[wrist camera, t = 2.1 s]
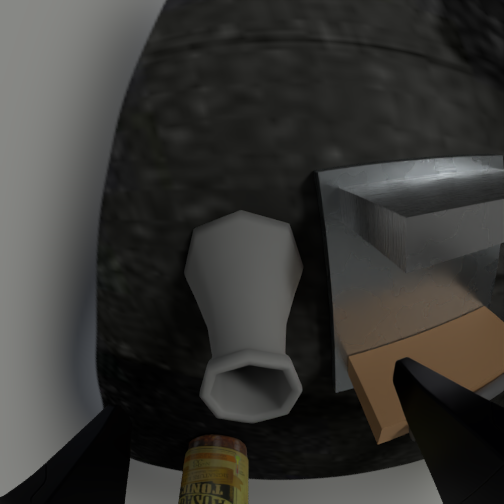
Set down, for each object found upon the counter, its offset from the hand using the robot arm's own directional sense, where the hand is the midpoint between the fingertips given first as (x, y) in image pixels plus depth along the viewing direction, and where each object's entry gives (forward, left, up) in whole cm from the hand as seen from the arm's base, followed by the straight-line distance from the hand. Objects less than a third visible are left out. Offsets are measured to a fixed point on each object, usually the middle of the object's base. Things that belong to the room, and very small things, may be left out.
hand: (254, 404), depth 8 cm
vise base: (-3, -13, -10) cm, 17 cm away
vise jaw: (-9, -13, -9) cm, 18 cm away
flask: (0, 0, -11) cm, 11 cm away
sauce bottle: (-19, +7, -11) cm, 23 cm away
